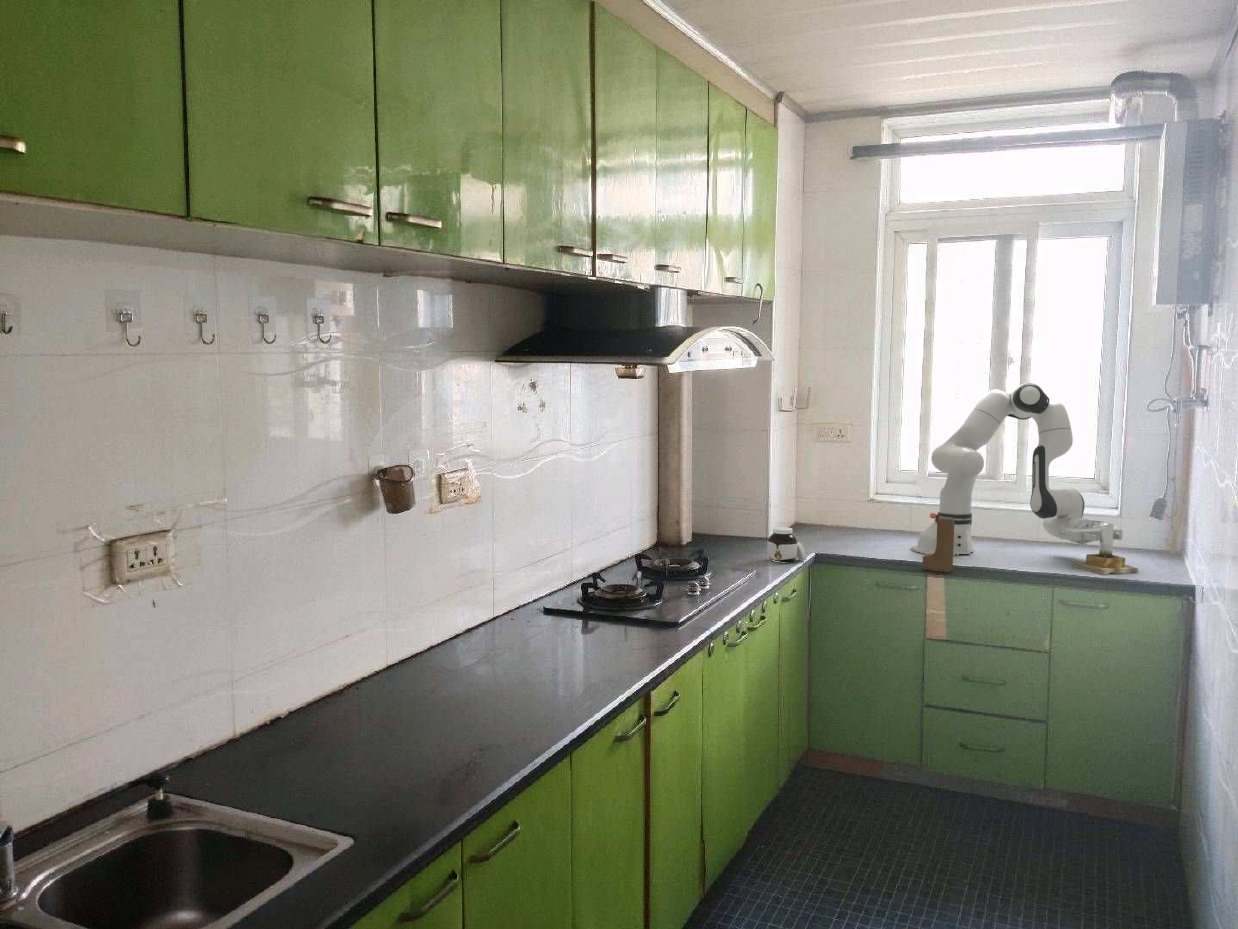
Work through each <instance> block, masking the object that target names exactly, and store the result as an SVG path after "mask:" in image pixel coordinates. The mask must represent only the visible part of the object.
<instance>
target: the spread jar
mask: <svg viewBox="0 0 1238 929" xmlns="http://www.w3.org/2000/svg"><path fill="white" fill-rule="evenodd" d="M793 532H794V531H793V528H792V527H786V526H778V527H777V526H775V527H773V528H772V533H771V535H770V536H769V537H768V540H767V556H768V558H769V560H770V559H772V560H775V561H780V562H791V561H793V562H794V561H795V560H796V559H798V558H799V559H801V560H802V561H801V562H803V561H807V553H806V550H805V548H804V546H803V545H802V543H801V542H800V541H798V540H797V538H796V536H795V535H794V533H793ZM799 559H798V560H799ZM791 563H792V562H791Z"/></svg>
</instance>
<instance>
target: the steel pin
mask: <svg viewBox="0 0 1238 929" xmlns="http://www.w3.org/2000/svg"><path fill="white" fill-rule="evenodd" d="M1114 526H1115V524H1114V523H1110V522H1109V523H1108V522H1104V523H1101V524H1100V540H1099V546H1098V547H1099V548H1098V551H1099V552H1098V554H1099V557H1101V558H1112V555H1113V550H1114V549H1113V548H1114V547H1113V546H1114V540H1113V529H1114Z"/></svg>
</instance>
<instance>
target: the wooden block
mask: <svg viewBox="0 0 1238 929" xmlns="http://www.w3.org/2000/svg"><path fill="white" fill-rule="evenodd" d="M954 522H955V519H954V518H951V517H940V518H938V519H937V542H936V550H935V553H933V554H924V556H922V567H921V568H922V570H925V571H932V572H940V573H950V572H953V569H954V555H953V549H954Z"/></svg>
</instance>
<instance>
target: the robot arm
mask: <svg viewBox="0 0 1238 929" xmlns="http://www.w3.org/2000/svg"><path fill="white" fill-rule="evenodd" d="M1007 417H1010V418H1014V419H1017V420H1028V419H1033V420H1034V422H1035V423H1036V426H1037V432H1038V443H1037V446H1036V447H1035V448H1034V449H1033V452H1032V460H1031V461H1032V464H1031V468H1032V469H1031V471H1032V472H1031V474H1032V476H1031V484H1032V485H1031V496H1030V502H1029V505H1030V509H1031V511H1032V512H1033V513H1034V515H1036V517H1038V518H1039V519H1043V521H1042V526H1043V529H1044V530H1045V532H1047V534H1049V535H1050V536H1052V537H1054V538H1057V539H1059V540H1066V541H1069V542H1070V543H1071V542H1072V543H1074V544H1079V545H1084V544H1085V545H1086V544H1088V543H1092V542H1095V541H1096V542H1097V541H1100V524H1101V523H1105V522H1104V521H1102V520H1101V521H1100V520H1091V519H1087V518H1083V515H1084V513H1085V512H1084V511H1085V499H1084V497H1083V496H1082V494H1081V493H1080V491H1078V490H1077V489H1075V488H1070V489H1069V488H1068V489H1051V488H1050V484H1049V482H1050V481H1049V478H1050V476H1049V475H1050V472H1049V469H1050V468H1049V467H1050V464H1051V463H1052V462H1053V461H1054V460H1056V459H1057V458H1060V457H1061V456H1064V455H1065V454H1066V453H1068V452H1069V451H1070V450H1071V447H1072V446H1073V432H1072V425H1071V423H1070V419H1069V415H1068V412H1067V409H1066V407H1065V405H1063V404H1062V403H1061V402H1058V401H1050V398H1049V397H1048V395H1047V394H1046V393H1045V392H1044V391H1043V389H1042V388H1041V387H1040V386H1039V385H1038V384H1036V383H1033V382H1025V383H1022V384H1020V385H1019V386H1017V387H1016V388H1015V390H1014V391H1012V392H1011V393H1007V392H1005V391H1002V390H1000V389H991V390H989V391H988V392H987V393H986V394H985V395H984V396H983V397H982V398H981V399H980V400H979V402H978V403H977V404H976V405H975V406H974V408H973V410H972V411H971V412H970V414H969V415H968V417H967V418H966V419H965V421H964V422H963V424H962V425H961V426H960V427H959V429H957V430H956V431H955V432H954V433H953V434H952V435H951V437H949V438H948V439H947V440H946V441H945V442H944V443H942V444H941V445H939V446H937V447H936V448H935V449H934V450H933V451H932V453H931V454H932V455H931V459H930V460H931V464H932V465H933V466H934V468H935V469H937V470H939V472H942V473H943V474H946V475H947V476H946V481H945V484H944V486H943V487H942V488H941V489H940V492H939V511H938V512H937V513H934V512H930V514H928V515H929V518H930V519H934V522H933V523H932V524H930V525H929V526H928V527H926V528H925V529H924V530H922V531H921V532H920V534H919V535H918V539H917V544H916V545H911V546H910V550H912V551H913V552H916V553H919V552H920V554H923V553H924V554H923V555H928V554H933V553H935V550H936V542H937V519H938V518H940V517H951V518H954V519H955V522H954V549H953V556H956V554H957V556H960V555H959V554H970V555H971V552H972V553H974V552H975V549H974V546H973V539H972V528H971V527H972V523H973V513H972V494H973V490H974V485H975V483H976V480H977V477H978V475H979V474H981V472H982V471H983V469H984V465H985V461H984V460H985V459H984V457H983V455H982V454H981V453H980V452H978V450H979V449H980V448H982V447H984V446H985V445H988V443H989V442H990V441H991V439H992V438H993V436H994V435H995V433H996V432H997V430H998V429H999V427H1000V426H1001V425H1002V423H1003V422H1004V420H1005V418H1006V419H1007ZM1114 540H1117V541H1119V540H1120V541H1121V540H1123V529H1122V528H1121V527H1118V526H1115V525H1114V529H1113V541H1114Z"/></svg>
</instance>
